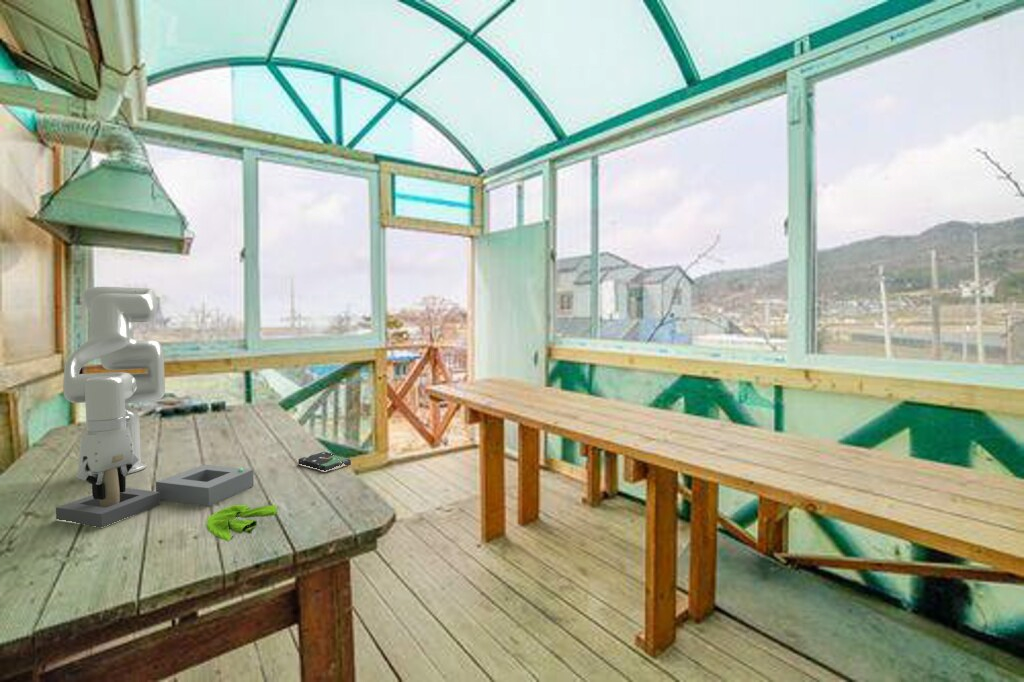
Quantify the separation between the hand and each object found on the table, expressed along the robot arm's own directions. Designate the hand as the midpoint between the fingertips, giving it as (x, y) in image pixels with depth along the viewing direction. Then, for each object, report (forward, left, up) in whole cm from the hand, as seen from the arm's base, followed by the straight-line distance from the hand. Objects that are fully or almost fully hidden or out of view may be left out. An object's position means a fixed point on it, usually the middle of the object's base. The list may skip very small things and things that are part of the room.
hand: (109, 494), depth 117 cm
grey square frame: (0, 0, -5) cm, 5 cm away
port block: (+12, +17, -5) cm, 21 cm away
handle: (0, 0, -5) cm, 5 cm away
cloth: (+37, +5, -6) cm, 38 cm away
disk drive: (+29, +47, -6) cm, 55 cm away
